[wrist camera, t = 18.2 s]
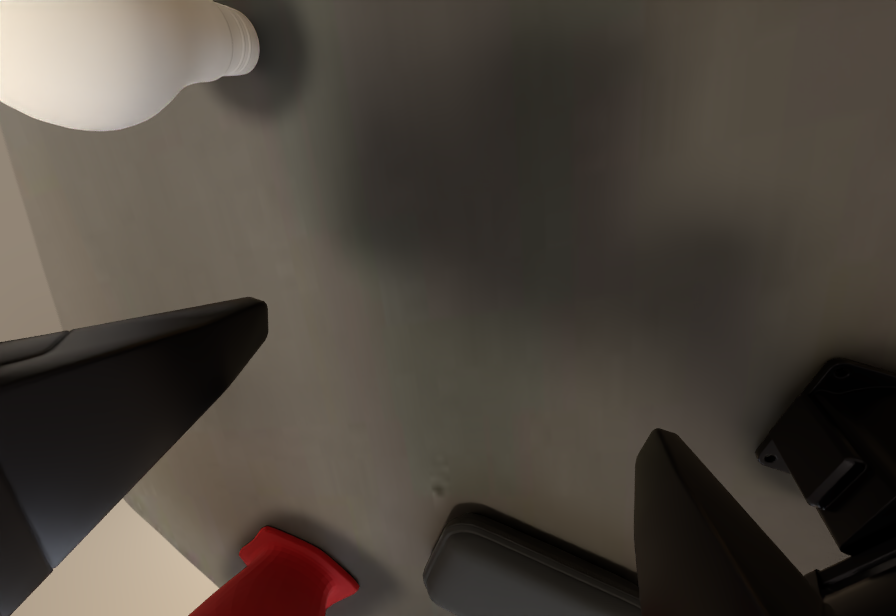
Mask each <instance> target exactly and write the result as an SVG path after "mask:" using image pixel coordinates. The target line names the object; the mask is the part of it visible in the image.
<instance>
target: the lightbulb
mask: <svg viewBox="0 0 896 616" xmlns="http://www.w3.org/2000/svg"><path fill="white" fill-rule="evenodd" d="M259 52H260V48H259V40H258V36H257V33H256V31H255V29H254V27H253V25H252V23H251V22H250V20H249V19H248V18H247V17H246V16H245V15H244V14H243V13H241V12H240V11H238V10H236V9H233V8H230V7H228V6H226V5H222V4H220V3H216V2H214V1H213V0H0V102H2V103H4V104H6V105H8V106H10V107H12V108H14V109H16V110H18V111H20V112H22V113H24V114H26V115H28V116H30V117H32V118H34V119H38V120H41V121H45V122H48V123H52V124H55V125H59V126H63V127H66V128H70V129H78V130H87V131H111V130H120V129H124V128H128V127H131V126H134V125H137V124H139V123H142V122H144V121H147V120H149V119H150V118H152V117H153V116H155V115H156V114H158V113H159V112H160V111H161V110H162V109H163V108H165V107H166V106H167V105H168V104H169V103H170V102H171V101H172V100H173V99H174V98H175V97H176V96H177V94H178V93H179V92H180V91H181V90H182V89H183V88H185V87H186V86H188V85H191V84H194V83H201V82H211V81H215V80H217V79H219V78H221V77H222V76H239V75H244V74H247V73H249V72H251V71H252V70H253V69H254V67H255V66H256V64H257V61H258V58H259Z"/></svg>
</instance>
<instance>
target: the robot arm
mask: <svg viewBox="0 0 896 616" xmlns="http://www.w3.org/2000/svg"><path fill="white" fill-rule="evenodd" d="M267 335H268V308H267V304H266V303H265V302H264V301H261V300H258V299H255V298H252V297H245V298H239V299H234V300H229V301H223V302H218V303H213V304H207V305H202V306H196V307H191V308H186V309H180V310H175V311H170V312H164V313H159V314H153V315H148V316H143V317H137V318H132V319H127V320H121V321H116V322H111V323H105V324H100V325H94V326H89V327H84V328H78V329H73V330H71V331H70V332H69V331H62V332H56V333H51V334H46V335H40V336H35V337H29V338H23V339H17V340H11V341H5V342H0V616H10V615H11V614H12V613H13V612H14V611H15V610H16V609H17V608H18V607H19V606H20V605H21V604H22V603H23V601H25V599H26V598H27V597H28V596H29V595H30V594H31V593H32V592H33V591H34V590H35V589H36V588H37V587H38V586H39V585H40V584H41V583H42V582H43V581H44V580H45V579H46V578H47V577H48V576H49V574H50V573H51V572H52V571H53V568H55V567H56V566H58V565H59V564H60V562H62V561H63V560H64V558H65V557H66V556H67V555H68V554H69V553H70V552H71V551H72V550H73V549H74V548H75V547H76V546H77V545H78V544H79V543H80V542H81V541H82V540H83V539H84V537H86V536H87V535H88V533H89V532H90V531H91V530H92V529H93V528H94V527H95V526H96V525H97V524H98V523H99V522H100V521H101V520H102V519H103V518H104V517H105V516H106V515H107V514H108V513H109V512H110V510H111V509H112V508H113V507H114V506H115V505H116V504H117V503H118V502H119V501H120V500H121V499H122V498H123V497H124V496H125V495H126V494H127V493H128V492H129V491H130V490H131V489H132V488H133V487H134V486H135V484H136V483H137V482H138V481H139V480H140V479H141V478H142V477H143V476H144V475H145V474H146V473H147V472H148V471H149V470H150V469H151V468H152V467H153V466H154V465H155V464H156V463H157V462H158V461H159V459H160V458H161V457H162V456H163V455H164V454H165V453H166V452H167V451H168V450H169V449H170V448H171V447H172V446H173V445H174V444H175V443H176V442H177V441H178V440H179V439H180V438H181V437H182V436H183V434H184V433H185V432H186V431H187V430H188V429H189V428H190V427H191V426H192V425H193V424H194V423H195V422H196V421H197V420H198V419H199V418H200V417H201V416H202V415H203V414H204V413H205V412H206V411H207V409H208V408H209V407H210V406H211V405H212V404H213V403H214V402H215V401H216V400H217V399H218V398H219V397H220V396H221V395H222V394H223V393H224V392H225V390H226V389H227V388H228V387H229V386H230V385H231V383H232V382H233V381H234V380H235V378H236V377H237V376H238V375H239V373H240V372H241V371H242V369H243V368H244V367H245V366H246V364H247V363H248V362H249V360H250V359H251V358H252V357H253V355H254V354H255V353H256V351H257V350H258V349H259V348H260V346H261V345H262V344H263V342H264V341H265V339H266V338H267ZM840 368H844V369H843V370H842V371H841V372H835V371H836V370H838V369H840ZM755 453H756V457H757V459H758V461H759V462H760V463H761V464H763V465H765V466H768V467H771V468H774V469H777V470H780V471H783V472H786V473H789V474H791V475H792V476H793V478H794V480H795V482H796V484H797V485H798V487H799V489H800V491H801V492H802V494H803V496H804V498H805V500H806V501H807V503H808V504H809V505H811V506H814V507H816V509H817V511H818V513H819V514H820V516H821V518H822V520H823V521H824V523H825V525H826V527H827V528H828V530H829V532H830V533H831V535H832V537H833V539H834V540H835V542H836V544H837V546H838V547H839V549H840V551H841V552H843V553H845V554H848V555H851V557H849V558H846V559H844V560H842V561H840V562H838V563H836V564H834V565H832V566H830V567H827V568H825V569H823V570H821V571H820V570H817V569H816V570H814V571H812V572H810V573H808V574H806V575H804V576H803V575H802V574H801V573H800V572H799V571H798V569H797V568H796V567H795V566H794V565H793V564H792V563H791V562H790V560H789V559H788V558H787V557H786V556H785V555H784V554H783V553H782V551H781V550H780V549H779V548H778V547H777V546H776V545H775V544H774V543H773V541H772V540H771V539H770V538H769V537H768V536H767V535H766V534H765V532H764V531H763V530H762V529H761V528H760V527H759V526H758V525H757V523H756V522H755V521H754V520H753V519H752V518H751V517H750V516H749V514H748V513H747V512H746V511H745V510H744V509H743V508H742V507H741V505H740V504H739V503H738V502H737V501H736V500H735V499H734V498H733V496H732V495H731V494H730V493H729V492H728V491H727V490H726V489H725V488H724V486H723V485H722V484H721V483H720V482H719V481H718V480H717V479H716V477H715V476H714V475H713V474H712V473H711V472H710V471H709V470H708V468H707V467H706V466H705V465H704V464H703V463H702V462H701V461H700V459H699V458H698V457H697V456H696V455H695V454H694V453H693V452H692V450H691V449H690V448H689V447H688V446H687V445H686V444H685V443H684V441H683V440H682V439H681V438H680V437H679V436H678V435H677V434H675V433H672V432H669V431H666V430H663V429H660V428H657V429H654V430H653V431H652V432H651V434H650V435H649V437H648V439H647V440H646V442H645V444H644V445H643V447H642V449H641V450H640V452H639V454H638V456H637V459H636V464H635V501H634V542H635V554H636V564H637V575H638V586H639V596H640V607H641V616H896V373H894V372H890V371H887V370H883V369H880V368H876V367H873V366H869V365H866V364H862V363H859V362H855V361H852V360H848V359H844V358H835V359H832V360H830V361H828V362H827V363H826V364H825V365H824V366H823V367H822V368H821V370H820V371H819V372H818V373H817V375H816V376H815V377H814V378H813V380H812V381H811V382H810V383H809V385H808V386H807V387H806V388H805V390H804V391H803V392H802V393H801V395H800V396H798V397H797V398H796V399H795V401H794V402H793V403H792V404H791V406H790V407H789V408H788V409H787V411H786V412H785V413H784V414H783V416H782V417H781V418H780V419H779V421H778V422H777V423H776V424H775V426H774V427H773V428H772V429H771V431H770V432H769V435H768V436H767V437H766V438H765V440H764V441H763V442H762V443H761V445H760V446H759V447H758V448H757V450H756V452H755ZM767 455H771V456H768V457H766V456H767Z"/></svg>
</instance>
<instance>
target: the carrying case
mask: <svg viewBox="0 0 896 616" xmlns="http://www.w3.org/2000/svg"><path fill="white" fill-rule="evenodd" d="M423 581H424V584H425V586H426V588H427V591H428V594H429V596H430V598H431V600H432V601H433V602H434V603H435V604H437V605H438V606H440V607H441V608H443V609H445V610H447V611H449V612H451V613H453V614H455V615H457V616H641V607H640V596H639V587H638V586H636V585H635V584H633V583H631V582H630V581H628V580H626V579H624V578H622V577H619V576H617V575H615V574H613V573H611V572H609V571H606V570H604V569H602V568H600V567H598V566H596V565H593V564H591V563H589V562H587V561H585V560H582V559H580V558H578V557H576V556H574V555H572V554H569V553H567V552H565V551H563V550H560V549H558V548H556V547H554V546H552V545H549V544H547V543H545V542H542V541H540V540H538V539H536V538H533V537H531V536H529V535H526V534H524V533H522V532H520V531H517V530H515V529H513V528H510V527H508V526H506V525H503V524H501V523H499V522H496V521H494V520H492V519H489V518H487V517H484V516H482V515H478V514H473V513H468V514H464V515H462V516H460V517H457V518H455V519H453V520H451V521H450V522H449V523H448V524H447V525H446V526H445V528H444V530H443V532H442V534H441V536H440V538H439V540H438V542H437V544H436V546H435V548H434V550H433V552H432V554H431V556H430V558H429V560H428V562H427V564H426V566H425V569H424V572H423Z"/></svg>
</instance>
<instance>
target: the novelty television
mask: <svg viewBox="0 0 896 616" xmlns="http://www.w3.org/2000/svg"><path fill="white" fill-rule="evenodd" d="M239 556H240V557H241V559H242V560H243V561H244V563H245V564H246V565H247V567H246V568H245V569H243V570H242V571H241V572H239V573H238V574H237V575H236V576H234V577H233V578H232V579H231V580H229V581H228V582H227V583H226V584H224V585H223V586H222V587H221V588H220V589H218V590H217V591H216V592H215V593H214V594H212V595H211V596H210V597H209V598H208V599H207V600H205V601H204V602H203V603H202V604H201V605H200V606H199V607H197V608H196V609H195V610H194V611H193V612H192V613H191V614H190V615H188V616H325V612H326V609H327V608H328V607H330V606H331V605H332V604H334V603H336V602H338V601H340V600H342V599H344V598H346V597H348V596H350V595H352V594H354V593H355V592H356V591H357V590H358V589H359V587H360V586H359V584H358V583H357V582H356V581H355V580H354V579H353V578H352V576H351V575H349V574H348V573H347V572H346V571H345V570H344V569H343V568H342V567H341V566H340V565H338V564H337V563H336V562H335V561H334V560H333V559H332V558H330V557H329V556H328V555H327V554H325V553H324V552H323V551H322V550H320V549H319V548H317V547H315V546H313V545H311V544H309V543H307V542H305V541H303V540H301V539H298V538H296V537H294V536H292V535H290V534H287V533H285V532H283V531H281V530H278V529H275V528H272V527H270V526H265V527H263V528H261V530H260V531H259V533H258V534H257V535H256V537H255V538H254V539H253V540H252V541H251V542H250V543H248V544H247V545H245V546H244V547H242V549H241V550H240V552H239Z"/></svg>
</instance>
